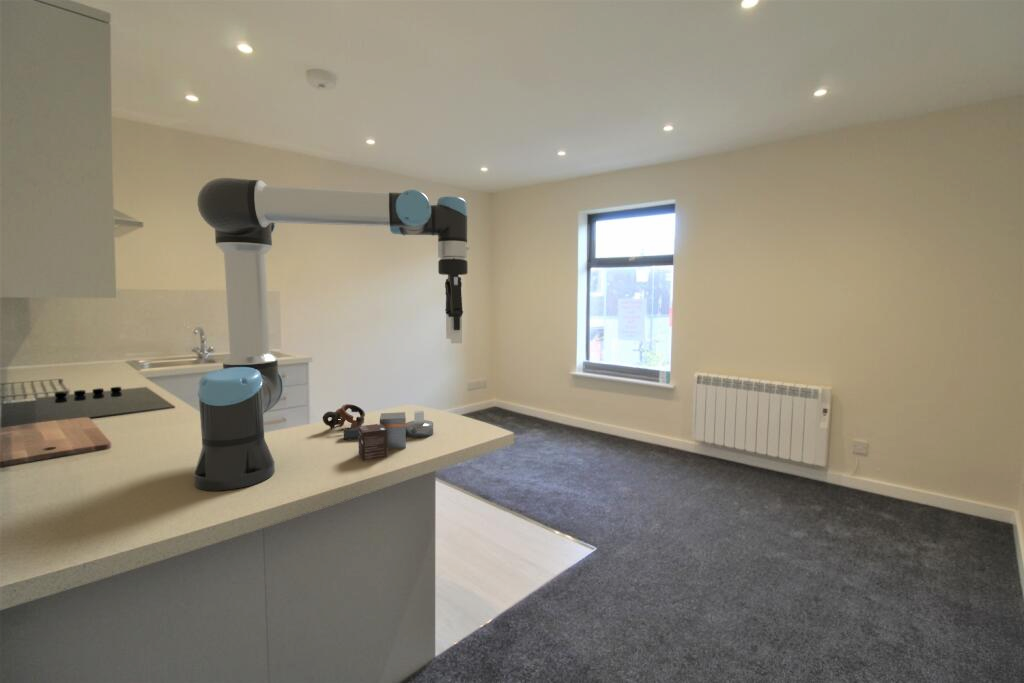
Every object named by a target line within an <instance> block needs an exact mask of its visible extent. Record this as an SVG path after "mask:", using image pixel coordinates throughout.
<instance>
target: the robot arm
mask: <svg viewBox="0 0 1024 683" xmlns="http://www.w3.org/2000/svg"><path fill="white" fill-rule="evenodd" d="M196 201H197V208H198V212H199V214H200V216H201V218H202V219H203V221H205V222H206V224H207V225H209V226H210V227H212V229H214V240H215V246H216V247H217V248H218V249H220V250H221V251H222V252H223V259H224V275H225V277H224V280H225V292H226V310H227V328H228V342H229V343H228V344H229V346H228V347H229V355H228V356H227V357H226V358H225V359H224V360H223V361H222V368H220V369H218V370H217V369H214V370H213V371H212V370H211V371H210V372H207V373H206V374H204V375H202V377H200V379H199V382H198V391H197V397H198V403H199V415H200V417H199V418H200V432H201V433H200V434H201V445H202V446H201V451H200V454H199V457H198V460H197V463H196V467H195V470H194V474H193V478H194V479H193V481H194V486H195V487H196V488H197V489H198V490H204V491H212V492H213V491H214V492H215V491H216V492H217V491H227V490H230V491H231V490H235V489H241V488H246V487H248V486H253V485H255V484H259V483H261V482H263V481H266V480H268V479H270V478H271V477H272V476H273V475H274V474H275V472H276V470H275V469H276V468H275V461H274V458H273V455H272V453H271V451H270V449H269V446H268V444H267V442H266V441H267V440H266V439H265V423H264V422H265V421H264V415H265V413H266V412H268V411H270V410H271V409H272V408H274V406H275V405H276V404H278V402H279V400H280V399H281V397H282V394H283V392H284V379H283V377H282V375H281V374H280V372H279V365H278V361H279V360H278V357H276V356H275V355H274V354H272V353H271V343H270V342H271V339H270V323H269V319H270V317H269V304H268V303H269V300H268V298H269V297H268V284H267V283H268V282H267V281H268V280H267V262H266V254H267V253H268V252H269V251H270V250H271V249H272V248H273V244H272V243H273V241H272V239H273V238H272V234H273V232H274V230H275V226H276V224H301V225H332V226H333V225H334V226H335V225H336V226H357V227H358V226H361V227H362V226H363V227H365V226H366V227H389V230H390V232H391V234H393V235H402V236H407V235H409V236H437V257H438V258H439V260H438V262H437V263H438V264H437V265H438V270H437V272H438V274H439V275H442V276H443V275H445V276H447V278H446V279H445V282H444V288H445V309H444V310H445V314H446V315H445V318H446V320H445V324H446V325H445V327H446V329H445V333H446V336H445V337H446V339H447V340H448V339H449V340H450V344H463V317H462V316H463V314H464V311H463V299H462V298H463V296H462V284H463V283H462V278H461V276H465V275H467V274H468V272H469V271H468V265H469V264H468V261H467V260H466V259H467V258H468V251H470V246H468V218H469V217H468V212H467V211H468V210H467V202H466V200H465V199H464V198H462V197H459V196H451V195H450V196H441V197H439V198H438V199H437V203H436V204H434V205H433V204H432V205H431V203H430V200H429V198H428V196H426V194H424V193H423V192H422V191H420V190H418V189H417V190H416V189H408V190H405V191H403V192H390V191H389V192H388V191H373V190H372V191H371V190H370V191H369V190H357V189H356V190H355V189H354V190H353V189H352V190H350V189H335V188H334V189H332V188H316V187H297V186H296V187H295V186H282V185H281V186H280V185H279V186H278V185H268V184H266V183H265V182H264V181H263V180H260V179H246V178H245V179H244V178H235V177H219V178H215V179H212V180H210V181H208V182H207V183H205V184H204V186H202V188H201V189H200V190H199V192H198V197H197V200H196Z"/></svg>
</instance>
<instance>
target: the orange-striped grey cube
mask: <svg viewBox="0 0 1024 683" xmlns="http://www.w3.org/2000/svg"><path fill="white" fill-rule="evenodd" d="M379 416H380V417H379V424H382V425H383V426H385V428H386V429H387V450H398V449H406V447H407V438H406V437H407V436H406V423H407V418H406V412H405V411H403V412H401V411H400V412H399V411H398V412H383V413H382V412H381V413H380V415H379Z"/></svg>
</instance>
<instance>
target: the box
mask: <svg viewBox="0 0 1024 683" xmlns="http://www.w3.org/2000/svg"><path fill="white" fill-rule="evenodd" d="M357 440H358V455H359V457H360V459H361V461H362V462H368V461H374V460H382V459H387V458H388V449H387V429H386V428H385V426H383V425H382V424H380V423H374V424H367V425H361V426H358V439H357Z"/></svg>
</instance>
